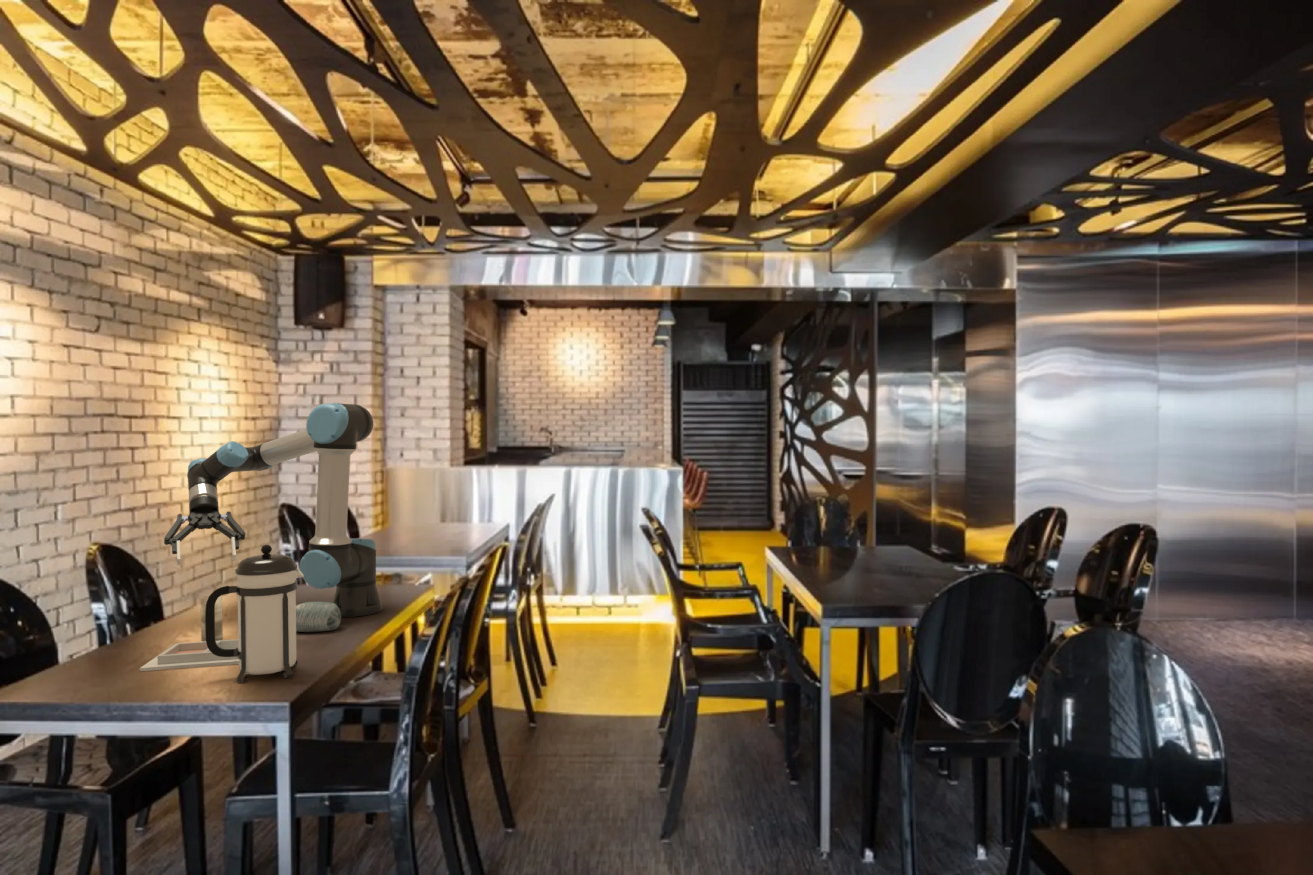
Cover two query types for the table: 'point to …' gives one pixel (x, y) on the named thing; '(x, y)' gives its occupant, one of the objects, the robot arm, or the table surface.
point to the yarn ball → (317, 616)
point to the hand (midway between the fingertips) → (207, 559)
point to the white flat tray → (191, 656)
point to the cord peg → (217, 619)
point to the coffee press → (261, 615)
